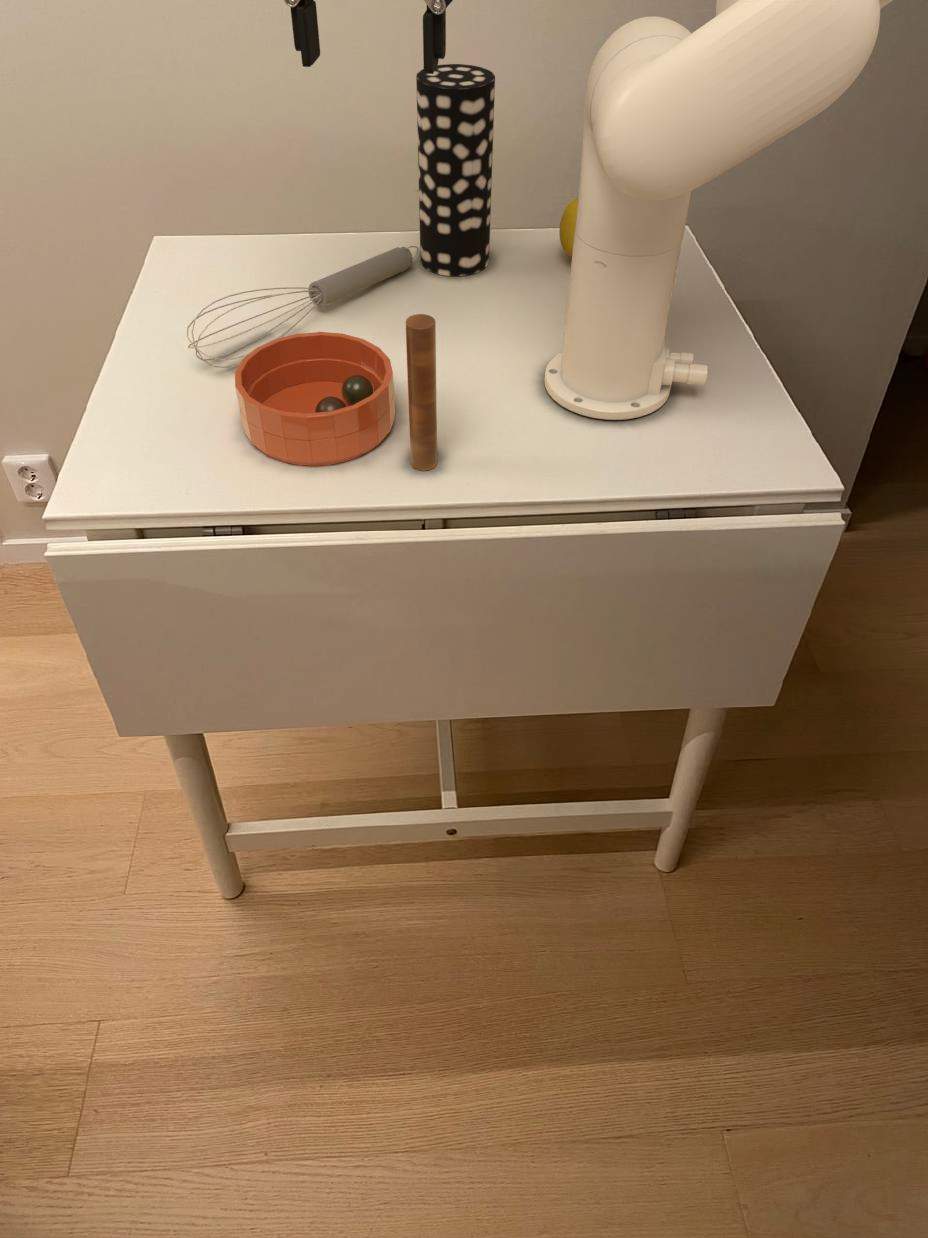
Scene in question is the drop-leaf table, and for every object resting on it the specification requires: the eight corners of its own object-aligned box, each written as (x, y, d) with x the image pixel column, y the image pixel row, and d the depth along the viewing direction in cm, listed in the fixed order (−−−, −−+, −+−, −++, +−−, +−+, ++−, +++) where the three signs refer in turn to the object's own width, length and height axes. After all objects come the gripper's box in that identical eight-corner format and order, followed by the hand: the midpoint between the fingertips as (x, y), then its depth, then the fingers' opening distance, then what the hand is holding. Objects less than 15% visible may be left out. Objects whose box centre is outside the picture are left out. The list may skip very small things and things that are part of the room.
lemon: (550, 253, 113) (556, 187, 107) (593, 249, 114) (601, 183, 108) (564, 274, 109) (571, 206, 103) (608, 269, 110) (617, 202, 104)
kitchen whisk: (437, 268, 110) (436, 215, 105) (220, 390, 92) (208, 332, 87) (398, 253, 112) (396, 201, 108) (180, 369, 94) (166, 312, 90)
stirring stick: (438, 456, 84) (437, 314, 74) (434, 472, 83) (432, 329, 73) (413, 453, 85) (408, 312, 74) (408, 469, 83) (403, 327, 73)
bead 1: (336, 384, 85) (335, 406, 88) (309, 397, 84) (308, 419, 86) (355, 406, 84) (353, 427, 87) (327, 419, 83) (326, 440, 86)
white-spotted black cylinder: (497, 250, 113) (504, 68, 99) (477, 280, 108) (481, 92, 93) (433, 240, 115) (431, 60, 100) (410, 270, 110) (404, 83, 95)
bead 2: (364, 405, 90) (380, 382, 89) (360, 418, 88) (377, 393, 86) (338, 388, 89) (354, 364, 88) (333, 400, 87) (349, 375, 85)
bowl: (406, 388, 92) (404, 338, 88) (378, 474, 82) (374, 423, 78) (268, 376, 93) (260, 326, 89) (224, 460, 84) (213, 408, 80)
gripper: (492, -231, 62) (485, 56, 75) (244, -238, 64) (277, 45, 76) (479, -220, 57) (473, 86, 69) (209, -228, 58) (251, 73, 71)
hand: (371, 64), depth 73 cm, fingers open, 9 cm apart
